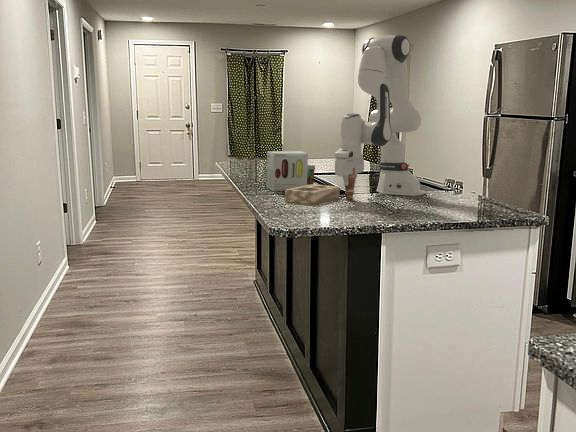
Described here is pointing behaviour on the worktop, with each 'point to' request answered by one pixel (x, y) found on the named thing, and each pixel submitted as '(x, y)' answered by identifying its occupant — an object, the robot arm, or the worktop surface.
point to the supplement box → (286, 169)
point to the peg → (350, 186)
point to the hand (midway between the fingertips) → (349, 184)
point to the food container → (310, 174)
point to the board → (312, 194)
